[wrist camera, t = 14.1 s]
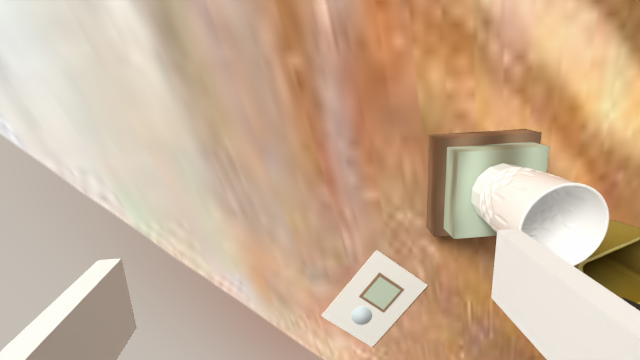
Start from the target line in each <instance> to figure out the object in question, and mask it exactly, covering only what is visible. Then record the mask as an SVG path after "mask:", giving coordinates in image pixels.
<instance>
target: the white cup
mask: <svg viewBox="0 0 640 360" xmlns="http://www.w3.org/2000/svg"><path fill="white" fill-rule="evenodd" d="M471 203H472V205H473V207H474V209H475V211H476V213H477V214H478V215H479V216H480V217H481V218H483V219H484V220H485V221H486V222H487V223H488V224H489V226H490V227H491V228H492V229H493V230H494V231H496V232H497V230H508V229H519V230H521V231H522V232H524V233H525V234H527V235H528V236H530V237H531V238H533V239H534V240H535V241H537V242H538V243H540V244H541V245H543V246H544V247H546V248H547V249H549V250H550V251H552V252H553V253H555V254H556V255H558V256H559V257H561V258H562V259H564V260H565V261H567V262H568V263H569V264H571V265H572V266H575V265H577V264H579V263H581V262H583V261H584V260H586V259H587V258H588V257H589V256H591V255H592V254H593V253H594V252H595V251H596V250H597V248H598V247H599V246H600V244H601V243H602V241H603V239H604V237H605V235H606V232H607V229H608V225H609V210H608V206H607V204H606V201H605V200H604V198H603V197H602V195H601V194H600V193H599V192H598V191H596V190H595V189H594V188H592V187H590V186H587V185H584V184H581V183H578V182H574V181H571V180H568V179H565V178H562V177H558V176H555V175H552V174H549V173H545V172H541V171H537V170H534V169H530V168H526V167H521V166H518V165H513V164H506V163H502V164H498V165H495V166H492V167H489V168H488V169H487V170H485V171H484V172H483V173H482V174H481V175H480V176H478V178H477V180H476V182H475V184H474V186H473V188H472V195H471Z"/></svg>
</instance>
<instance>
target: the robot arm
mask: <svg viewBox="0 0 640 360" xmlns="http://www.w3.org/2000/svg"><path fill="white" fill-rule="evenodd" d="M491 298H492V299H493V300H494V301H495V302H496V303H497V305H498V306H499V307H500V308H501V309H502V310H503V311H504V312H505V313H506V315H507V316H508V317H509V318H510V319H511V320H512V321H513V322H514V324H515V325H516V326H517V327H518V328H519V329H520V330H521V331H522V332H523V334H524V335H525V336H526V337H527V338H528V339H529V340H530V341H531V343H532V344H533V345H534V346H535V347H536V348H537V349H538V350H539V351H540V353H541V354H542V355H543V356H544V357H545V358H546V359H547V360H640V304H638V303H635V302H633V301H631V300H628V299H626V298H624V297H623V298H620V297H618V296H617V295H615V294H614V293H612V292H611V291H609V290H608V289H606V288H605V287H603V286H602V285H601V284H599V283H598V282H596V281H595V280H593V279H592V278H590V277H589V276H587V275H586V274H584V273H583V272H581V271H580V270H578V269H577V268H575V267H574V266H572V265H571V264H569V263H568V262H567V261H565V260H564V259H562V258H561V257H559V256H558V255H556V254H555V253H553V252H552V251H550V250H549V249H547V248H546V247H544V246H543V245H541V244H540V243H538V242H537V241H535V240H534V239H533V238H531V237H530V236H528V235H527V234H525V233H524V232H522V231H521V230H519V229H508V230H497V239H496V251H495V262H494V273H493V285H492V296H491ZM135 329H136V324H135V319H134V314H133V310H132V305H131V300H130V296H129V291H128V287H127V282H126V278H125V273H124V268H123V264H122V259H109V260H98V261H97V262H96V263H95V264H94V265H93V266H92V267H90V268H89V269H88V270H87V271H86V272H85V273H84V274H83V275H82V276H81V277H80V278H79V279H78V280H77V281H75V283H73V284H72V285H71V286H70V287H69V288H68V289H67V290H66V291H65V292H64V293H63V294H62V295H61V296H59V297H58V298H57V299H56V300H55V301H54V302H53V303H52V304H51V305H50V306H49V307H48V308H47V309H45V311H43V312H42V313H41V314H40V315H39V316H38V317H37V318H36V319H35V320H34V321H33V322H32V323H30V324H29V325H28V326H27V327H26V328H25V329H24V330H23V331H22V332H21V333H20V334H19V335H18V336H17V337H16V338H14V339H13V340H12V341H11V342H10V343H9V344H8V345H7V346H6V347H5V348H4V349H3V350H2V351H1V352H0V360H116V359H117V358H118V356H119V355H120V353H121V351H122V350H123V348H124V347H125V345H126V344H127V342H128V340H129V339H130V337H131V336H132V334H133V332H134V331H135Z"/></svg>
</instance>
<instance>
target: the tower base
mask: <svg viewBox="0 0 640 360" xmlns="http://www.w3.org/2000/svg"><path fill="white" fill-rule="evenodd" d="M540 141H541V132H536V131H532V130H527V129H519V130H503V131H487V132H470V133H454V134H438V135H429V167H428V199H427V228H428V229H429V230H430V231H431V233H432V234H433V235H434V236H435V237H438V236H451V237H452V238H453V239H460V238H473V237H486V236H497V232H496V231H494V230H493V229H492V228H491V227H490V226H489V224H488V223H487V222H486V221H485V220H484V219H483V218H481V217H480V216H479V215H478V214H477V213H476V211H475V209H474V207H473V205H472V203H471V195H472V188H473V186H474V184H475V182H476V180H477V178H478V176H480V175H481V174H482V173H483V172H484V171H485V170H487V169H488V168H489V167H492V166H495V165H498V164H502V163H506V164H513V165H518V166H521V167H526V168H530V169H534V170H537V171H541V172H545V173H546V172H547V163H548V155H549V147H550V146H546V145H542V144H540Z"/></svg>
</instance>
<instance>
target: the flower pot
mask: <svg viewBox="0 0 640 360" xmlns="http://www.w3.org/2000/svg"><path fill="white" fill-rule="evenodd" d="M574 267H575V268H577V269H578V270H580V271H581V272H583V273H584V274H586V275H587V276H589V277H590V278H592V279H593V280H595V281H596V282H598V283H599V284H601V285H602V286H603V287H605V288H606V289H608V290H609V291H611V292H612V293H614V294H615V295H617V296H618V297H620V298H623V297H624V298H626V299H628V300H631V301H633V302H635V303H638V304H640V228H637V227H634V226H631V225H628V224H624V223H621V222H617V221H613V220H609V225H608V229H607V232H606V235H605V237H604V239H603V241H602V243H601V244H600V246H599V247H598V248H597V250H596V251H595V252H594V253H593V254H592V255H591V256H589V257H588V258H587V259H586V260H584V261H583V262H581V263H579V264H577V265H575V266H574Z"/></svg>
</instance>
